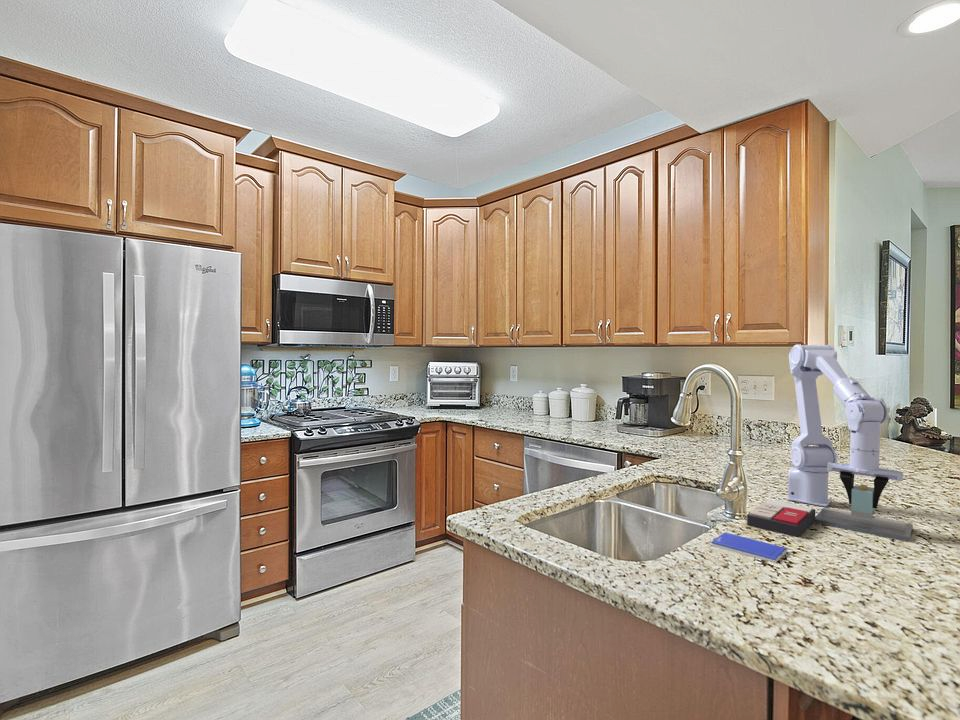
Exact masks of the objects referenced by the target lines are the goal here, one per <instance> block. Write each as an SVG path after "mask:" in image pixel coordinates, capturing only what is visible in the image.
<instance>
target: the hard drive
mask: <svg viewBox="0 0 960 720" xmlns="http://www.w3.org/2000/svg"><path fill="white" fill-rule="evenodd" d="M710 543H711V546H712V547H715V548H720V549H722V550H726V551H730V552H732V553H733V552H734V553H738V554H740V555H745V556H748V557H753V558H756V559H759V560H763V561H766V562H770V563H774V564H776V563H777V562H779V560H780V559H781V558H782V557H783V556H784V555H786V554H787V553H788V548H787V547H785V546H780V545H777V544H773V543H769V542H765V541H762V540H761V541H760V540H756V539H752V538H749V537H744V536H742V535H741V536H740V535H738V534H737V535H736V534H733V533H729V532H723V533H721V534H720V535H719V536H717V537H715V538H714V539H713V540H712V541H711V542H710Z"/></svg>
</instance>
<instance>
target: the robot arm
mask: <svg viewBox="0 0 960 720" xmlns="http://www.w3.org/2000/svg"><path fill="white" fill-rule="evenodd" d="M788 362H789V369H790V370H789V371H790V374H791V375H792V376H793V380H794V387H795V388H794V390H795V396H796V397H795V398H796V403H797V405H796V406H797V412H798V413H797V414H798V421H799V422H798V423H799V430H800V435H799V436H797V437H796V438H795V439H793V440H792V441H791V450H790V461H791V463H792V464H793V466H794V467H793V466H791V467H790V468H789V469H788V474H787V498H786V500H787V501H793V502H798V503H802V504H809V505H814V506H821V507H826V508H828V506H829V505H830V504H831V503H832V501H833V500H832V499H831V498H829V473H830V472H831V473H832V472H835V473H836V472H837V473H839V479H840V480H841V482H842V484H843V486H844V490H845V491H846V494H847V498H848V504H849V505H851V500H852V489H853V487H854V486H855V475H857V476H865V477H871V478H874V479H873V488H874V499H873V508H875V510H877V509H878V507H879V501H880V498H881V495H882V493H883V492H884V489H885V488H886V486H887V484H888V483H889V481H890V480H893V481H896V482H903V481H904V472H903V471H899V470H892V469H888V468H887V469H886V468H881V467H880V451H881V450H880V449H881V424H883V423H885V421H886V419H887V417H888V410H887V406H886V404H885V403H884V402H883V400H882V399H879V398H878V399H876V398H875V397H871V396H870V394H869V393H868V392H867V391H866V390H865V389H864V388H863V386H862V385H861V384H860V383H859V381H858V380H857V379H856V378H852V377H848V375H847V374H846V373H845V371H844V369H843V368H842V366H841V365H840V363H839V362H838V352H837V351H836V350H835V347H834V346H832V345H831V344H825V345H823V344H822V345H820V344H819V345H817V344H816V345H815V344H798V343H797V344H795V345H793V346H792V348H791V349H790V352H789V353H788ZM823 375H825V377H826V378H827V379H828V380H829V381H830V382H831V383H832V385H833V388H832V391H833V394H835V396H836V397H837V399H838V400H839V401H840V402H841V404H842V405H843V406H844V407H845V409H844V416H845V417H846V418H845V419H846V420H847V428H848V430H850V437H849V438H850V439H849V440H850V441H849V463H837V462H838V456H837V453H836V451H835V448H834V445H833V441H832V440H831V439H829V438H828V437H827V436H825V435H824V433H823V428H822V419H821V410H820V404H819V397H818V388H817V381H816V380H817V379H818V378H819V377H820V376H823Z"/></svg>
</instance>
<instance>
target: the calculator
mask: <svg viewBox="0 0 960 720" xmlns="http://www.w3.org/2000/svg"><path fill="white" fill-rule="evenodd" d="M815 517H816V509H815V508H813V507H810V506H804V505H799V504H794V503H789V502H783V501H779V500H773V499H766V500H765V501H764V502H761V504H759V505H758V506H757V507H755V508H754V509H752V510H751V511H750V512H749V513H748V514H746V526H748V527H753V528H756V529H760V530H766V531H769V532H773V533H777V534H782V535H787V536H791V537H794V538H800V537H801V536H802V535H803V534H804V533H806V532H807V531H808V529H809V528H811V527H813V525H815V524H816V523H815Z"/></svg>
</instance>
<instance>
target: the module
mask: <svg viewBox="0 0 960 720" xmlns="http://www.w3.org/2000/svg"><path fill="white" fill-rule="evenodd" d="M873 499H874V487H872V486H868V485H867V484H862V483H861V484H860V485H858V484H854V487H853V489H852V500H851V504H850V505H851V507H850V509H851V510H850V512H851V515H853V516H859V517H864V518H869V519H872V518H873V516H874V515H875V514H876V508H873Z"/></svg>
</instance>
